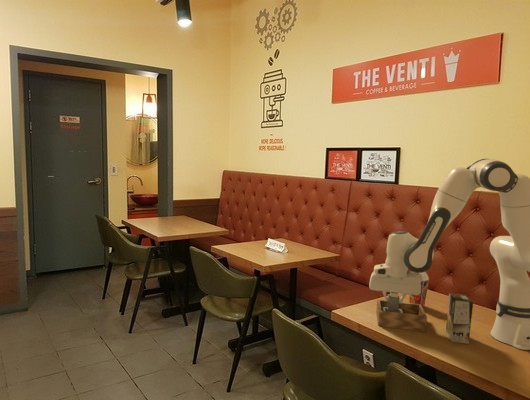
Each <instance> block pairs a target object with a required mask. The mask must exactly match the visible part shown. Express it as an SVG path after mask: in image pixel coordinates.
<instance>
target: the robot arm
mask: <svg viewBox="0 0 530 400" xmlns="http://www.w3.org/2000/svg"><path fill="white" fill-rule="evenodd" d="M479 188H481V189H486V190H489V191H491V192H497V193H498V195H499V204H500V205H499V207H500V216H501V224H502V226H503V228H504V229H505V230H506V231H507V233H509V235H499V236H496V237H494V238H493V239H492V241H491V242H490V245H489V253H490V255H491V256H492V257H493V259H494V260H495V263H496V265H497V268H498V272H499V279H500V281H499V282H500V284H499V297H498V299H497V304H496V309H495V310H496V311H495V312H496V317H495V321H494V323H493V326H492V329H491V331H490V336H491V337H492V338H494V339H495V340H497V341H499V342H502V343H504V344H507V345H509V346H512V347H514V348H516V349H519V350H524V351H525V350H526V351H528V350H529V351H530V277H529V274H528V273H530V177H529V176H528V175H525V174H522V173H521V174H520V173H515V171H514V170H513V168H512V167H511V166H510V165H509V164H508V163H506V162H504V161H501V160H498V159H493V158H481V159H479V160H477V161H475V162H474V163H472V164H471V165H469V166H468V167H459V166H458V167H455V168H452V169H451V170H450V172H448V174H447V175H446V176H445V178H444V179H443V181H442V182H441V184H440V186H439V187H438V189H437V191H436V192H435V193H436V194H435V196H434V198H433V201H432V204H431V208H430V214H429V217H428V221H427V222H426V224H425V227H424V229H423V230H422V231H421V235H420V236H419V238H417V237H415V236H413V235H412V234H411V233H410V232H409V231H406V230H398V231H393V232H391V233H390V234H389V235H388V238H387V242H386V251H385V253H386V259H385V263H381V264H375V265H374V267H373V271H372V273H371V275H370V277H369V283H368V285H369V286H368V287H369V290H371V291H377V292H382V294H383V297H384V300H385V302H389V301H388V300H389V297H388V296H387V293H390V292H393V293H398V294H401V296H400V297H399V304H402V302H403V301H404V299H406V296H407V295H409V294H411V295H419V294H420V293H421V284H420V283H421V282H422V275H421V274H420V273H422V272H427V271H429V270H430V268H431V267H432V264H433V260H434V256H435V249H436V246H437V244H438V242H439V240H440V238H441V237H442V235H443V233H444V231H445V230H446V228H447V227H448V226H449V225H450V224H451V223H452V222H453V221H454V220H455V218H457V217H458V215H459V214H460V213H461V212H462V211H463V209H464V207H465V206H466V204H467V203H468V200H469V199H470V197H471V195H472V194H473V193H474V191H476V190H477V189H479ZM419 274H420V275H419Z"/></svg>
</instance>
